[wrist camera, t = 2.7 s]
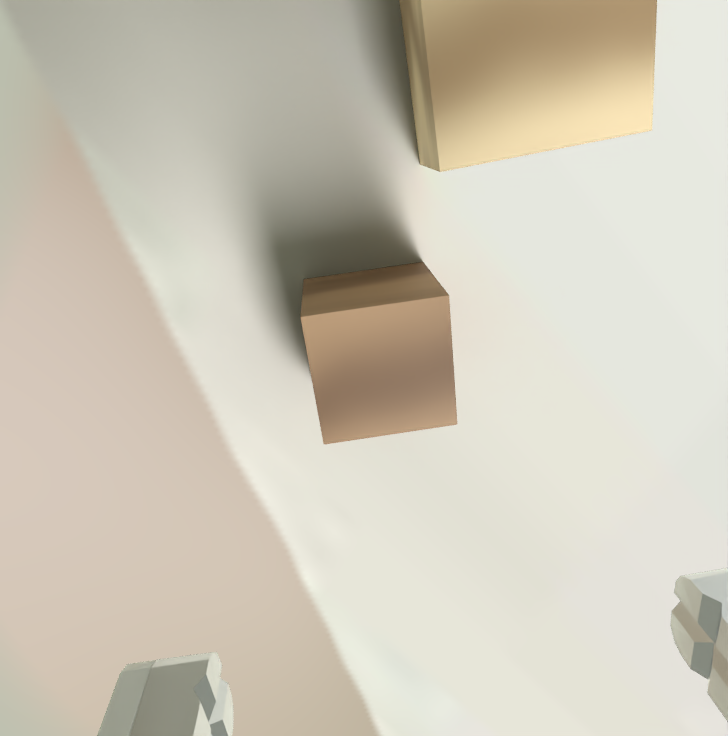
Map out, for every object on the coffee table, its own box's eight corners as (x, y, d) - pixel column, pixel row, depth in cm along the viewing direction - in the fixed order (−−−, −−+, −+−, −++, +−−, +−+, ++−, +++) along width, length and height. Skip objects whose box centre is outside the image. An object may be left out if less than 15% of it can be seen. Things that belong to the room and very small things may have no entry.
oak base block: (391, -53, 19) (410, -97, 15) (594, -93, 19) (662, -146, 15) (419, 164, 21) (440, 171, 18) (594, 129, 21) (651, 130, 18)
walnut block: (303, 278, 23) (300, 317, 18) (422, 261, 23) (448, 295, 18) (322, 385, 25) (323, 444, 20) (431, 369, 25) (457, 424, 20)
